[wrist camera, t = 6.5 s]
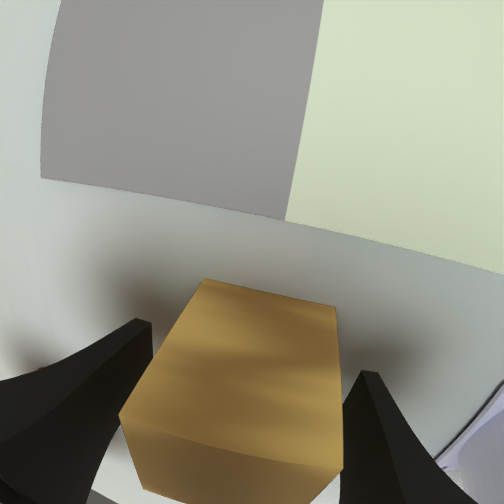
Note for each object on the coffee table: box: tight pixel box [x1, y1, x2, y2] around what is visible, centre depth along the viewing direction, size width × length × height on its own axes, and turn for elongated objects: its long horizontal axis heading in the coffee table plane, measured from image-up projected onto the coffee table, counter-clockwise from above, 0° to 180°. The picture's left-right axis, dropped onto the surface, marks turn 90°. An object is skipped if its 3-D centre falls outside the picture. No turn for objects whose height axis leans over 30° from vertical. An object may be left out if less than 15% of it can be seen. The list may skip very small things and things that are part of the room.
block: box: [119, 278, 343, 504], centre depth 9 cm, size 4×4×6 cm
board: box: [41, 0, 504, 275], centre depth 6 cm, size 18×12×1 cm, turn 81°
